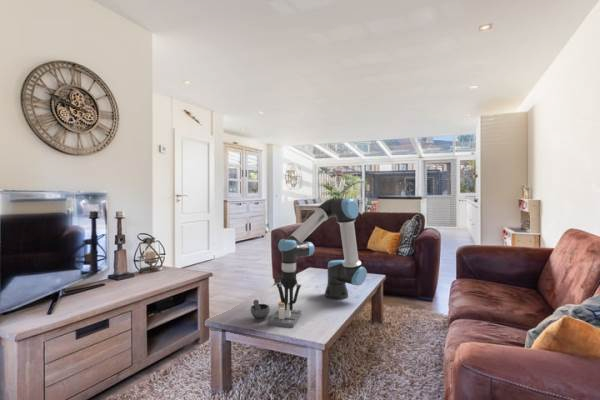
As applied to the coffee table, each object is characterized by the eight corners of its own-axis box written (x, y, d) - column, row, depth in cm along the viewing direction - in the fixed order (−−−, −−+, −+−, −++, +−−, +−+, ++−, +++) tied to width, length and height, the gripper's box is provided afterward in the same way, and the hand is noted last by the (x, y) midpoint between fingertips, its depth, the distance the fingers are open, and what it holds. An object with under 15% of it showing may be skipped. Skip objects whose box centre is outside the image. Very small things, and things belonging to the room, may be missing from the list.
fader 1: (285, 310, 175) (285, 302, 174) (283, 312, 171) (283, 304, 171) (279, 309, 175) (279, 301, 175) (278, 311, 172) (278, 303, 172)
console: (301, 314, 175) (301, 310, 175) (293, 327, 157) (293, 323, 157) (278, 312, 178) (278, 308, 178) (268, 325, 160) (268, 320, 160)
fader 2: (286, 317, 165) (286, 308, 165) (284, 319, 162) (284, 310, 162) (280, 316, 166) (280, 307, 166) (278, 318, 163) (278, 309, 163)
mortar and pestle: (256, 315, 173) (256, 293, 173) (272, 317, 170) (272, 295, 170) (246, 323, 162) (246, 300, 162) (263, 325, 159) (263, 302, 159)
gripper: (302, 269, 165) (302, 314, 165) (278, 268, 168) (278, 312, 168) (299, 273, 158) (299, 320, 158) (274, 271, 161) (274, 317, 161)
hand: (288, 316), depth 163 cm, fingers closed
